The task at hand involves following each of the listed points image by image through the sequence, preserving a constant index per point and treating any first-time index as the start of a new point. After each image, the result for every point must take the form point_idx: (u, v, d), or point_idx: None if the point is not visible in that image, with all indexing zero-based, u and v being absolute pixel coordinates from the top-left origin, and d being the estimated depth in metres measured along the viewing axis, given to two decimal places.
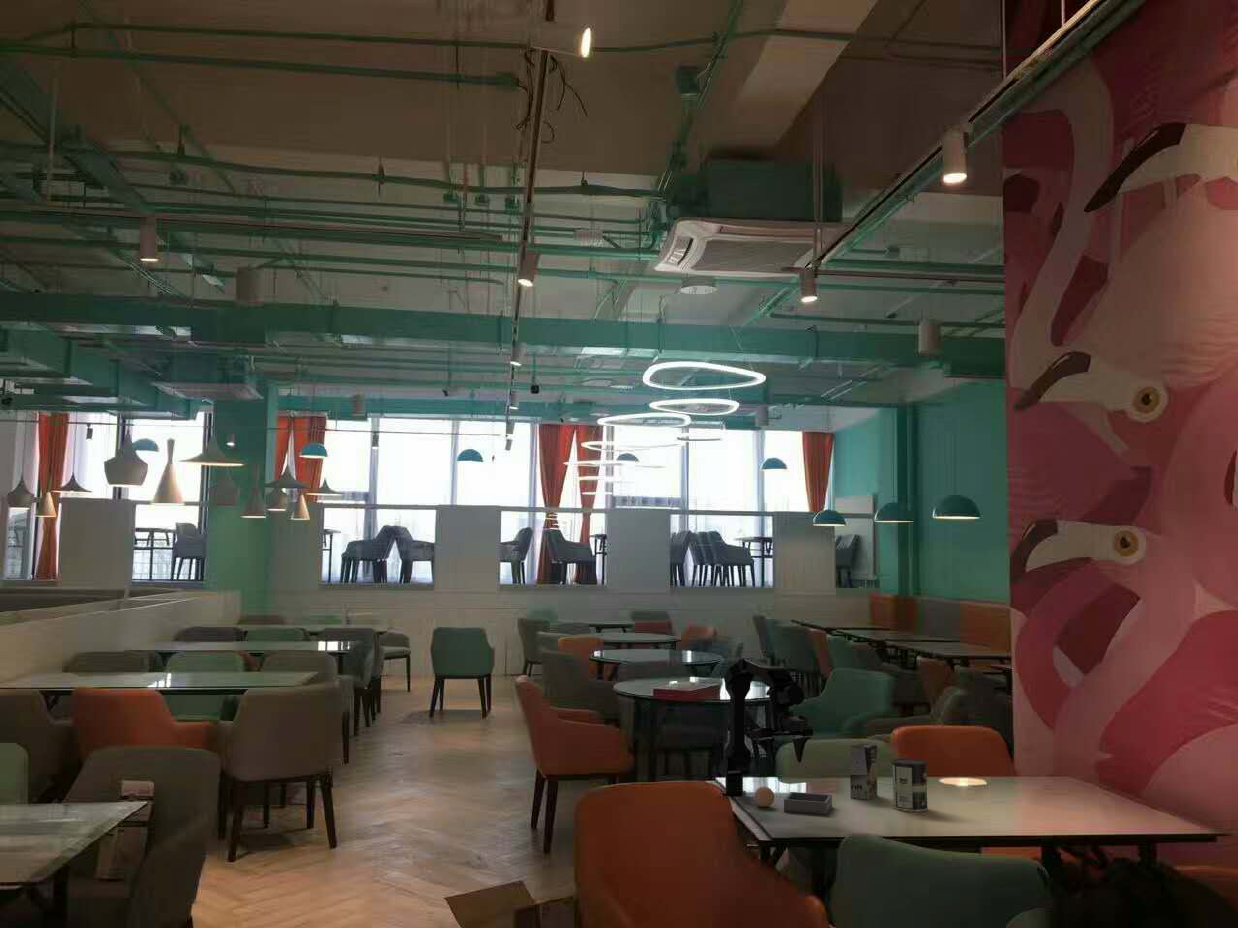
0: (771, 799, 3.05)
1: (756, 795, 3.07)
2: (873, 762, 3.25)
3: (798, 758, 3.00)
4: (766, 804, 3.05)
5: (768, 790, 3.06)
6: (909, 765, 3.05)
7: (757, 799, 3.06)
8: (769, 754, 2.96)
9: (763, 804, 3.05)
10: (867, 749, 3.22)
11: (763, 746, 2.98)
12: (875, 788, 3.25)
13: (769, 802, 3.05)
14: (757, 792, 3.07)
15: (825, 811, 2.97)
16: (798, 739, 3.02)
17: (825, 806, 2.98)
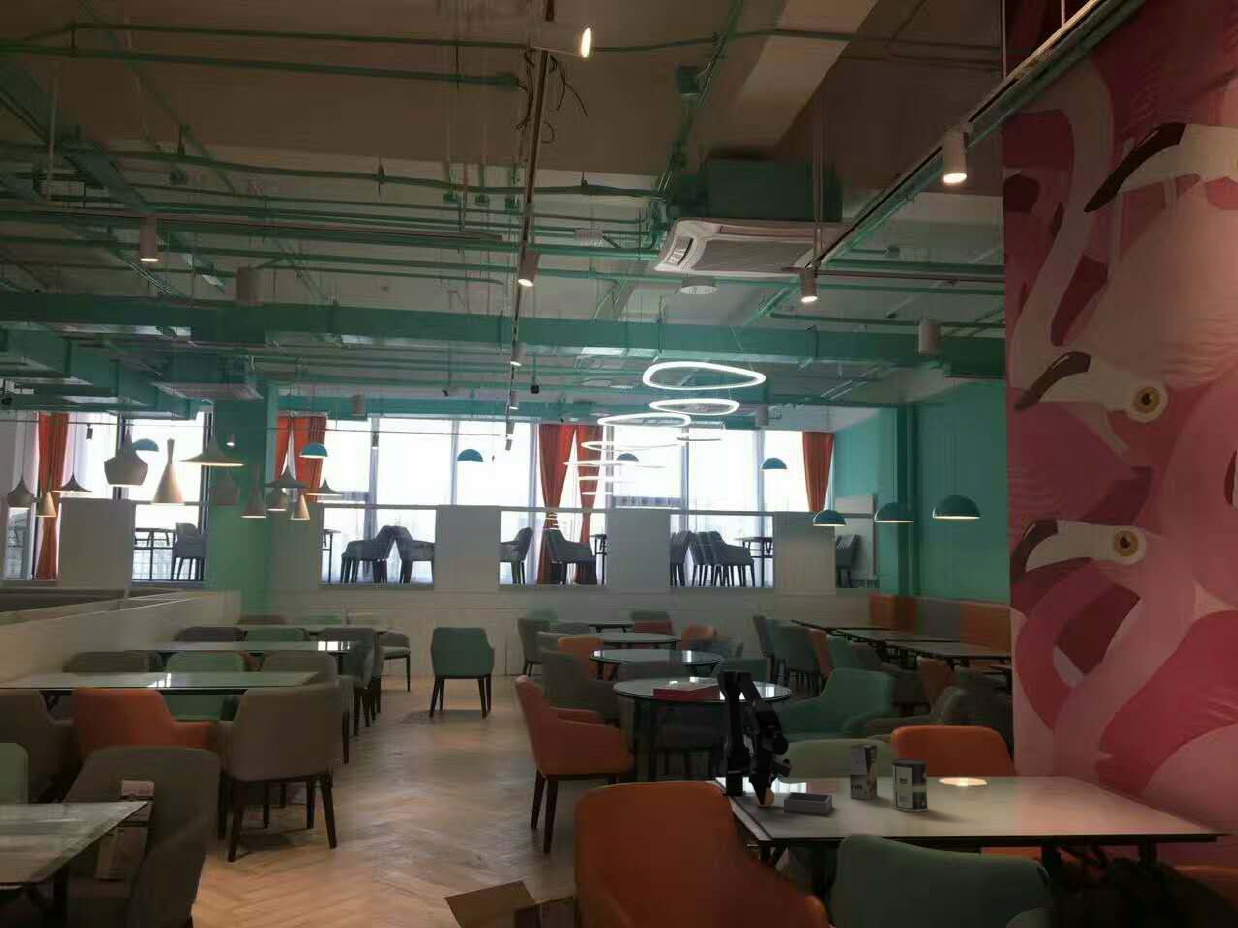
0: (771, 799, 3.05)
1: (756, 795, 3.07)
2: (873, 762, 3.25)
3: None
4: (766, 804, 3.05)
5: (768, 790, 3.06)
6: (909, 765, 3.05)
7: (757, 799, 3.06)
8: (761, 796, 3.04)
9: None
10: (867, 749, 3.22)
11: (755, 788, 3.04)
12: (875, 788, 3.25)
13: (769, 802, 3.05)
14: None
15: (825, 811, 2.97)
16: None
17: (825, 806, 2.98)
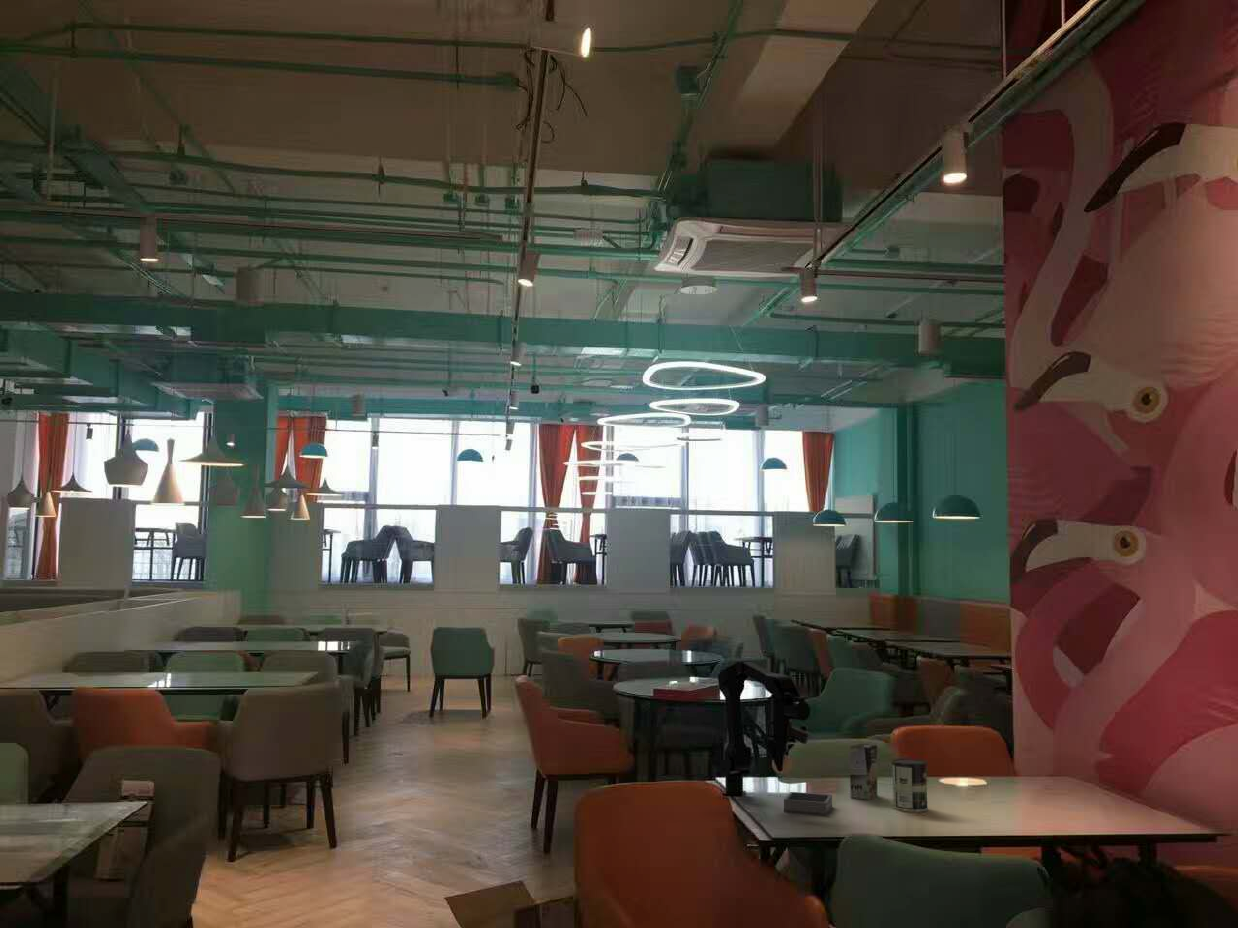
0: (788, 766, 3.05)
1: (773, 762, 3.07)
2: (873, 762, 3.25)
3: None
4: (783, 771, 3.05)
5: (785, 757, 3.06)
6: (909, 765, 3.05)
7: (774, 766, 3.06)
8: (778, 762, 3.04)
9: None
10: (867, 749, 3.22)
11: (773, 754, 3.04)
12: (875, 788, 3.25)
13: (786, 769, 3.05)
14: None
15: (825, 811, 2.97)
16: None
17: (825, 806, 2.98)
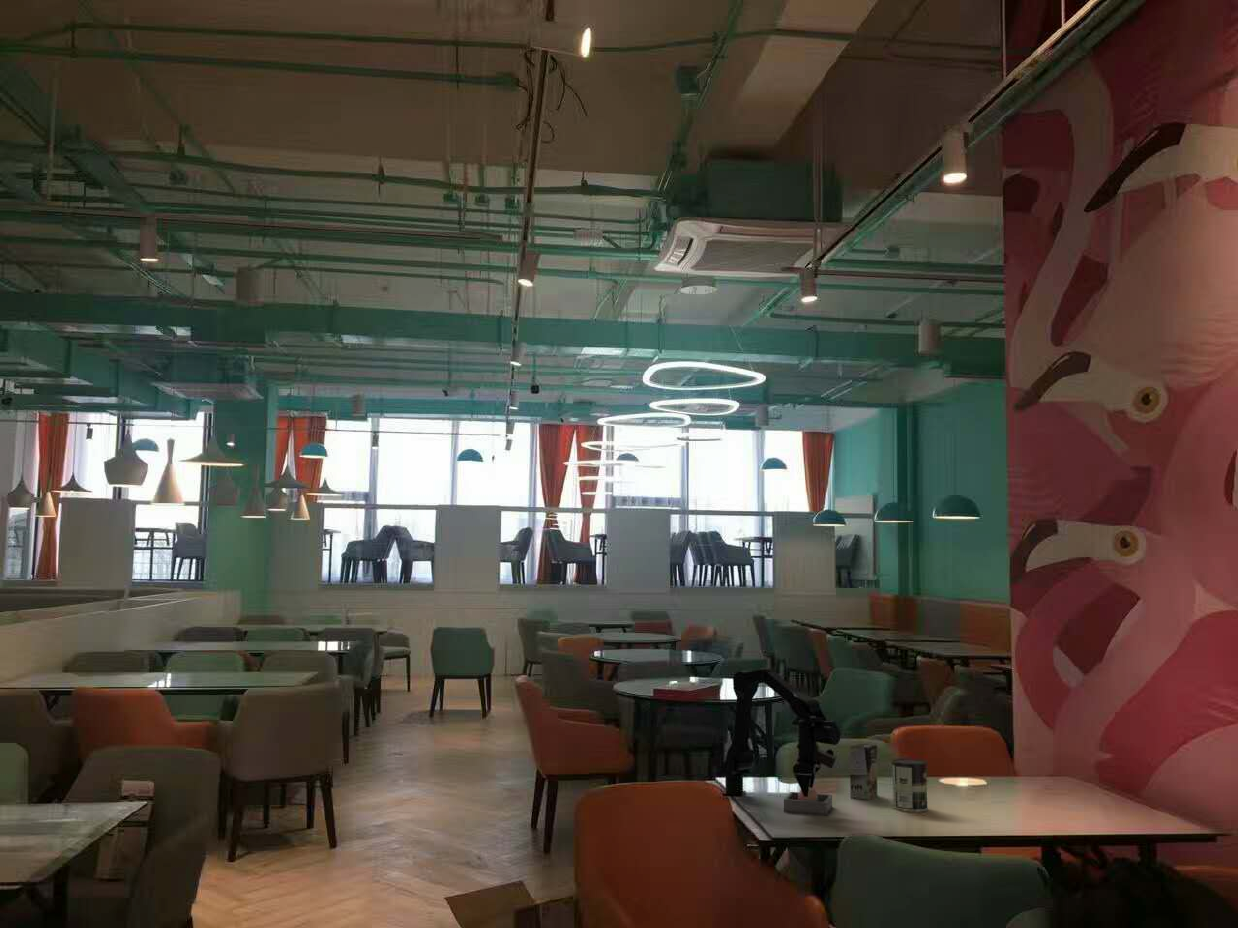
0: (815, 799, 3.03)
1: (800, 795, 3.04)
2: (873, 762, 3.25)
3: None
4: None
5: (812, 790, 3.04)
6: (909, 765, 3.05)
7: (801, 799, 3.04)
8: (804, 788, 3.01)
9: None
10: (867, 749, 3.22)
11: (798, 779, 3.01)
12: (875, 788, 3.25)
13: None
14: (801, 792, 3.05)
15: (825, 811, 2.97)
16: None
17: (825, 806, 2.98)
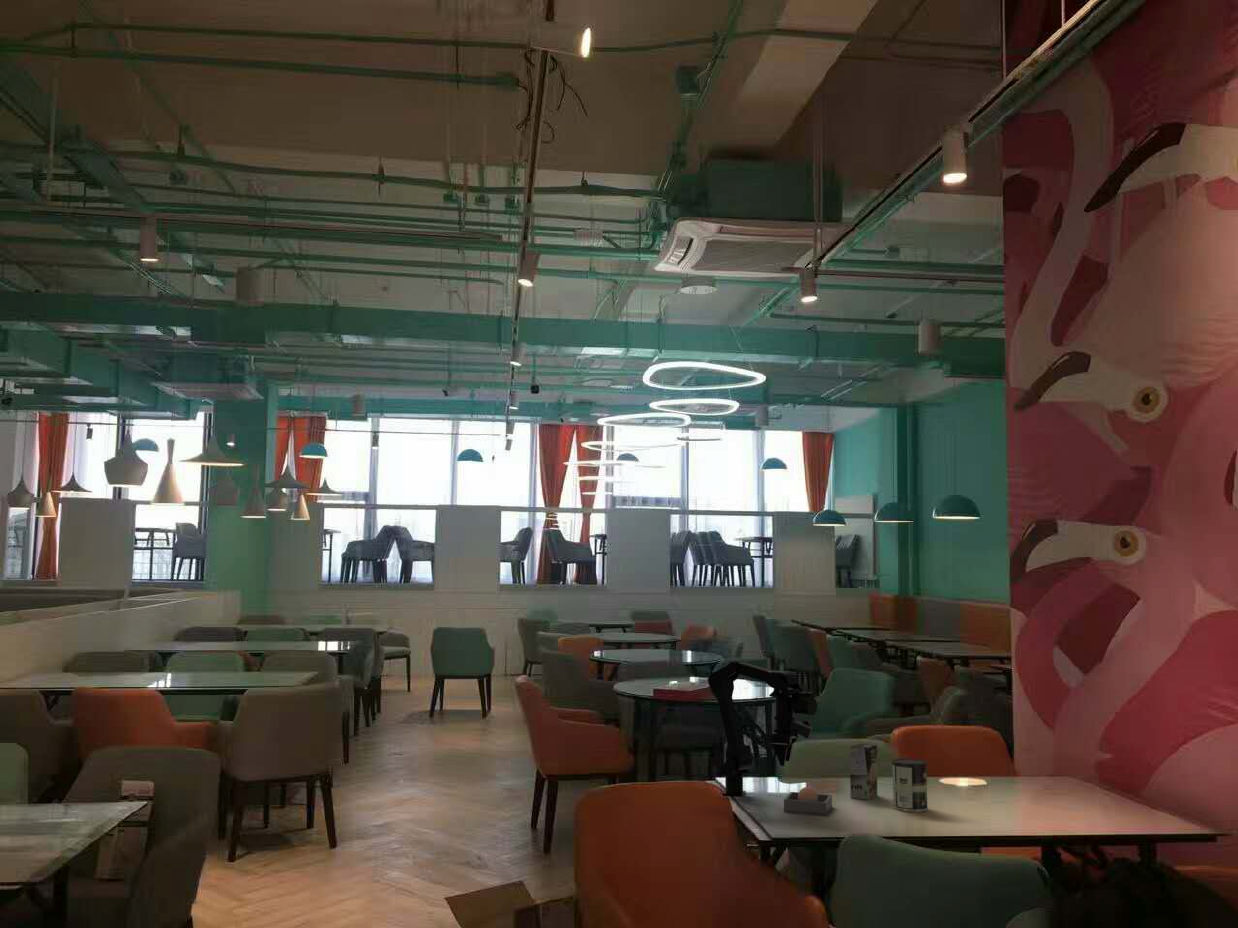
0: (815, 800, 3.03)
1: (800, 796, 3.04)
2: (873, 762, 3.25)
3: (787, 757, 3.19)
4: None
5: (812, 791, 3.04)
6: (909, 765, 3.05)
7: None
8: (781, 757, 3.10)
9: None
10: (867, 749, 3.22)
11: (775, 749, 3.10)
12: (875, 788, 3.25)
13: None
14: (801, 793, 3.04)
15: (825, 811, 2.97)
16: None
17: (825, 806, 2.98)
